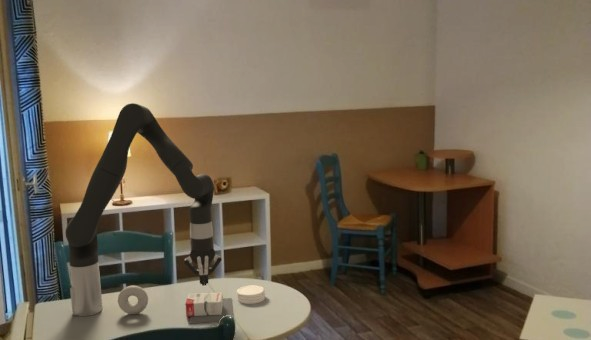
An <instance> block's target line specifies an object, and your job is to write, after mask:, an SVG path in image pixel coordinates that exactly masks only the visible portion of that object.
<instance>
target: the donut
mask: <svg viewBox="0 0 591 340" xmlns="http://www.w3.org/2000/svg"><path fill="white" fill-rule="evenodd" d="M131 296H134V297H135V298H136V299H137V302H136V303H133V304H132V303H131V302H130V301H129V298H130V297H131ZM148 303H149V295H148V294H147V292H146V291H145V289H144V288H143V287H141V286H139V285H133V284H132V285H127V286H126V287H124V288H123V289H121V291H119V294H118V297H117V304H118V306H119V308H120V309H121V310H122V311H123V312H124V313H126V314H128V315H138V314H140V313H143V311H144V310H146V308H147V306H148Z"/></svg>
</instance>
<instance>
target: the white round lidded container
mask: <svg viewBox="0 0 591 340" xmlns="http://www.w3.org/2000/svg"><path fill="white" fill-rule="evenodd" d="M265 292H266V290H265V288H264V287H262V286H261V285H253V284H252V285H244V286H241V287H239V288H238V289H237V290H236V299H237V301H238V302H239V303H241V304H245V305H248V304H249V305H253V304H255V305H256V304H260V303H261V302H263V301H264V300H265V299H266V293H265Z"/></svg>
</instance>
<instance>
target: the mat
mask: <svg viewBox="0 0 591 340" xmlns="http://www.w3.org/2000/svg"><path fill="white" fill-rule="evenodd" d="M226 315H231V316H233V317H234V310H233V302H232V297H229V298H228V297H227V298H223V307H222V313H221V315H207V316H189V324H190V325H192V324H205V323H214V322H220V321H219V320H220V319H221V318H222V317H223V316H226Z"/></svg>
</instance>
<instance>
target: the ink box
mask: <svg viewBox="0 0 591 340" xmlns="http://www.w3.org/2000/svg"><path fill="white" fill-rule="evenodd" d="M223 293H224V292H223V291H222V292H221V291H219V292H205V293H204V292H201V293H200V292H199V293H188V294H187V298H186V301H185V315H186V317H189V318H190V316H207V315H221V313H222V307H223V299H224V294H223Z"/></svg>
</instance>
